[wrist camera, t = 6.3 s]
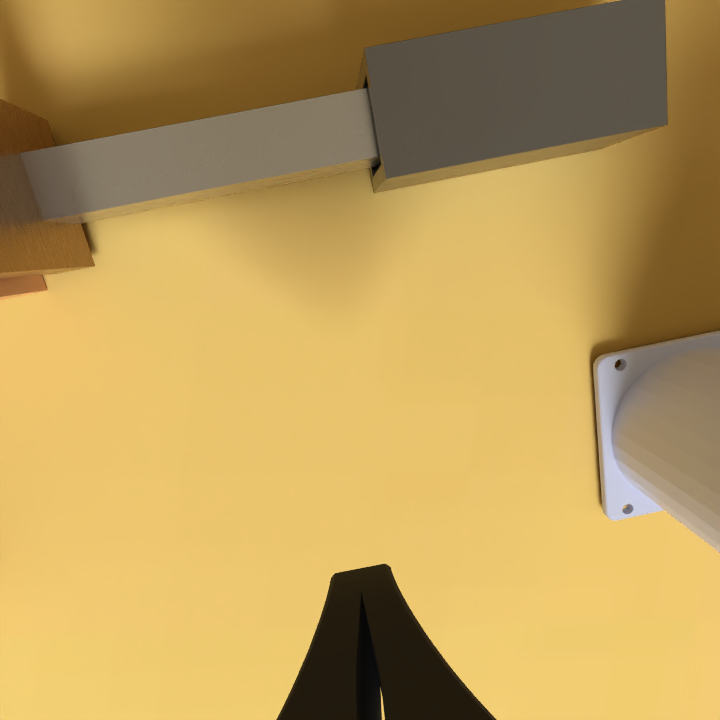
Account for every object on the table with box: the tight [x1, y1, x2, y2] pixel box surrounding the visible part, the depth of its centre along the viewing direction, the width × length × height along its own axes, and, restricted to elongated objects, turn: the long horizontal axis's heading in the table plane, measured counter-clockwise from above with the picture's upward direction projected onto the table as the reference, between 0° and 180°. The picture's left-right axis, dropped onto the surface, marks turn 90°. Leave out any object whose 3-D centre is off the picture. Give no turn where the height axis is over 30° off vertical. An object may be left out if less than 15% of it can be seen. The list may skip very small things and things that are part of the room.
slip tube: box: [0, 88, 381, 279], centre depth 14 cm, size 19×5×6 cm, turn 101°
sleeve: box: [356, 0, 668, 193], centre depth 15 cm, size 9×4×4 cm, turn 101°
